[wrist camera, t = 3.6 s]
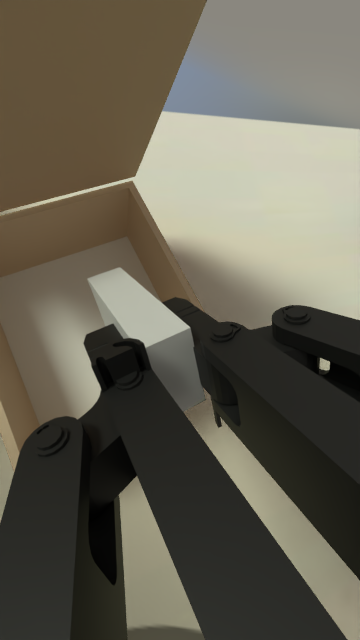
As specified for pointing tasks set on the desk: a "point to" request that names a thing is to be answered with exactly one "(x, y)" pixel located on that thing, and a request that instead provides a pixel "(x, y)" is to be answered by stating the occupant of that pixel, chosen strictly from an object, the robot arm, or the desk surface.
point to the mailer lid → (83, 89)
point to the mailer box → (68, 299)
